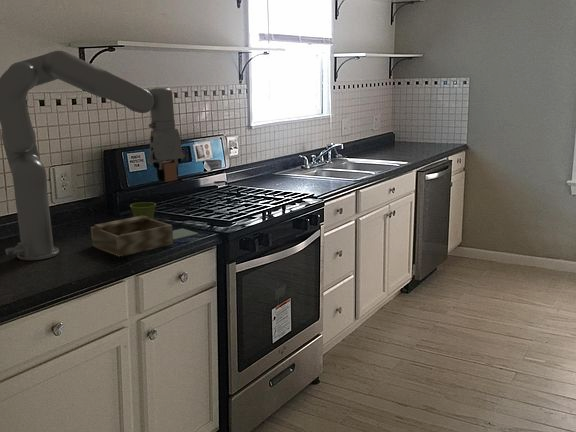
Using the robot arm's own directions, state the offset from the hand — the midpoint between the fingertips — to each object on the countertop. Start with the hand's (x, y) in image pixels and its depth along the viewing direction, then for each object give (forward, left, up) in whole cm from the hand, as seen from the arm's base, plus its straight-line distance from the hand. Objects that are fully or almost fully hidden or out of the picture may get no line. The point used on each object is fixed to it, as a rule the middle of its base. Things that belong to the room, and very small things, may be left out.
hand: (168, 179), depth 222 cm
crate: (-15, +1, -20) cm, 25 cm away
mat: (+3, +1, -20) cm, 21 cm away
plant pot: (0, +19, -21) cm, 28 cm away
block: (0, 0, 0) cm, 0 cm away
